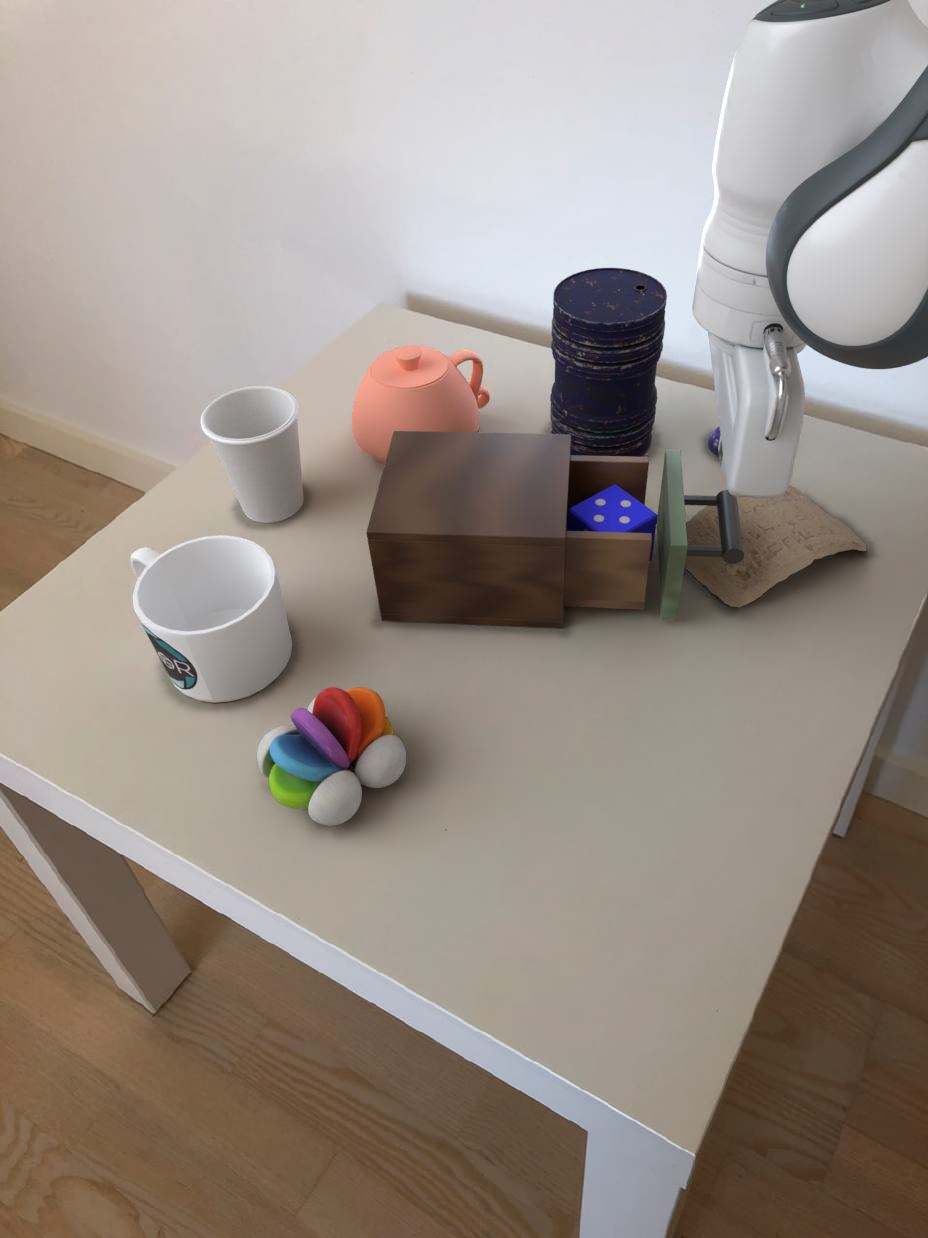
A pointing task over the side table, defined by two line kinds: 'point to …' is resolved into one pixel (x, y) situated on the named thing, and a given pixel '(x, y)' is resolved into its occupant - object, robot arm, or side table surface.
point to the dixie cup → (258, 449)
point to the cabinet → (472, 528)
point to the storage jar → (606, 360)
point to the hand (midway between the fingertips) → (731, 465)
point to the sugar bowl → (416, 396)
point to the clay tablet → (766, 544)
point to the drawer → (638, 536)
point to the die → (613, 514)
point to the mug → (213, 615)
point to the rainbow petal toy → (332, 754)
